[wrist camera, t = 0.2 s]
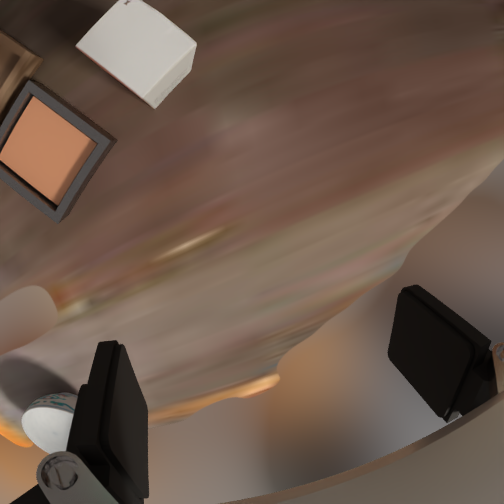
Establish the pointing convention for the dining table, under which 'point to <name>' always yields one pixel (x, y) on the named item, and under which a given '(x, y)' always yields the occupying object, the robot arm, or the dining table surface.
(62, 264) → the dining table surface
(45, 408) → the chinaware
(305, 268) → the dining table surface
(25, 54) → the walnut trough
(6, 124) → the frame
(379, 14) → the dining table surface
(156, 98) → the small box
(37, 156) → the spring pad
